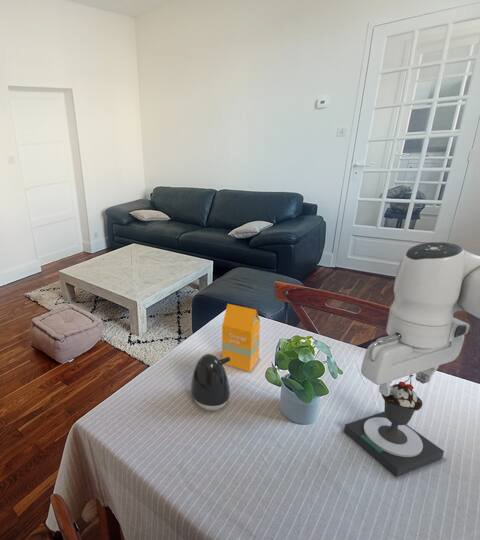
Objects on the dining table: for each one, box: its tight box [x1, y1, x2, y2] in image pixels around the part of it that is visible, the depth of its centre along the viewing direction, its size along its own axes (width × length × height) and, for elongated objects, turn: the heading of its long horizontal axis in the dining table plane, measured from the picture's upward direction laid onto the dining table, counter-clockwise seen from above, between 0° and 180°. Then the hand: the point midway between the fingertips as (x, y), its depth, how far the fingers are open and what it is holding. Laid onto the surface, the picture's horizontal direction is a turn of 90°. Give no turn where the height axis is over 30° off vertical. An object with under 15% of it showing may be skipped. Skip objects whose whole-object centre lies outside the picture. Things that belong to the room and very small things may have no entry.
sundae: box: [378, 374, 424, 444], centre depth 70 cm, size 7×7×15 cm
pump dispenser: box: [190, 353, 231, 412], centre depth 89 cm, size 10×10×15 cm
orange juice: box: [221, 303, 261, 372], centre depth 103 cm, size 8×9×20 cm
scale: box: [343, 410, 445, 478], centre depth 73 cm, size 12×12×4 cm
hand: (404, 387), depth 68 cm, fingers open, 8 cm apart
